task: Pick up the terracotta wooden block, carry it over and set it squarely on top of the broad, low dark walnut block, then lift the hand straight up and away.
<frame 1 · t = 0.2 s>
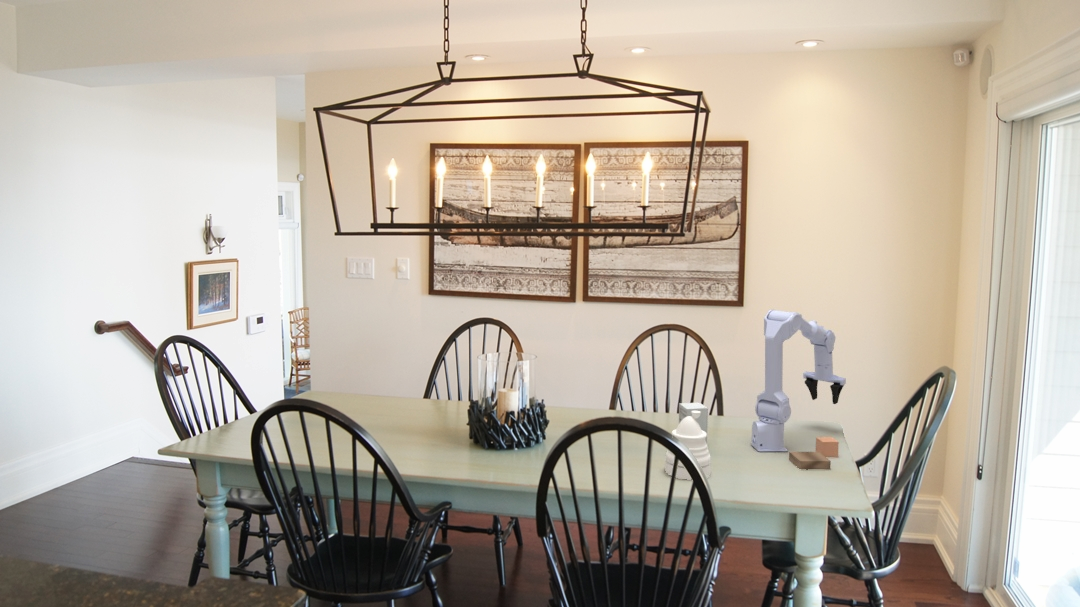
hand: (824, 401, 262), 11 cm above the table, tool pointing down, fingers open, 7 cm apart
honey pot: (687, 473, 221), on the table
terracotta block: (826, 455, 237), on the table
walnut base block: (809, 466, 228), on the table
supplement box: (692, 443, 249), on the table
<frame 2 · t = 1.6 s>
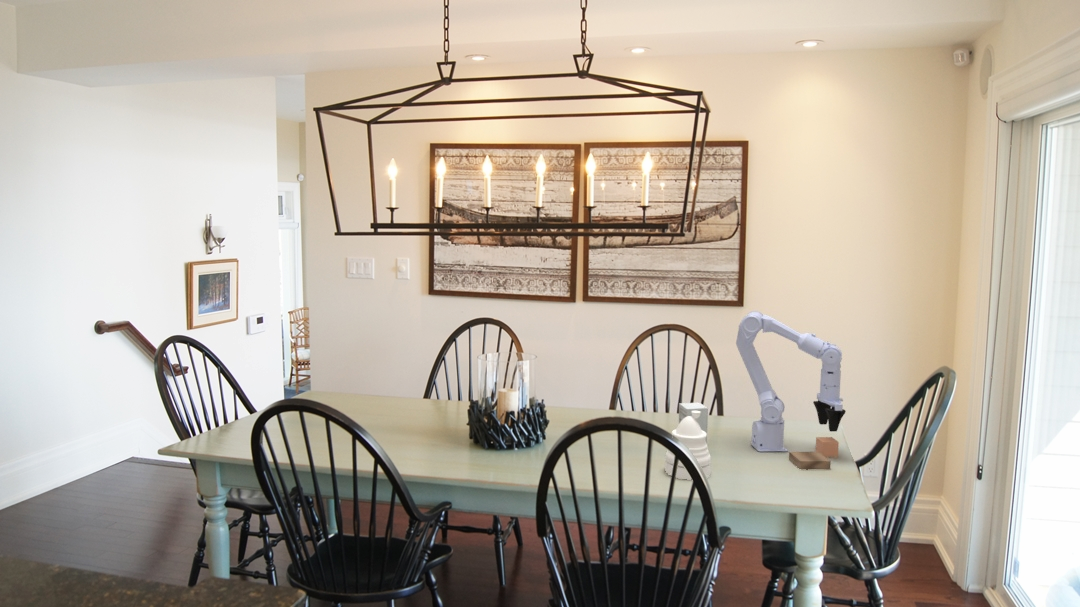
hand: (828, 427, 236), 9 cm above the table, tool pointing down, fingers open, 7 cm apart
nothing on the table moved.
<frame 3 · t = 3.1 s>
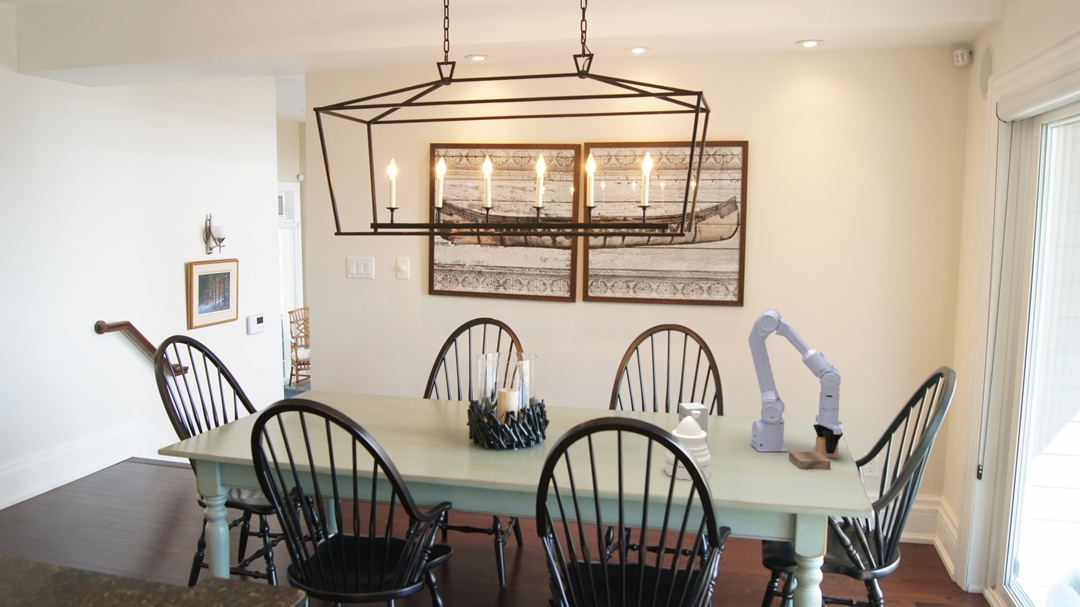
hand: (826, 450, 237), 1 cm above the table, tool pointing down, fingers closed on terracotta block, 5 cm apart
terracotta block: (826, 454, 237), on the table, touching gripper
everything else where it was.
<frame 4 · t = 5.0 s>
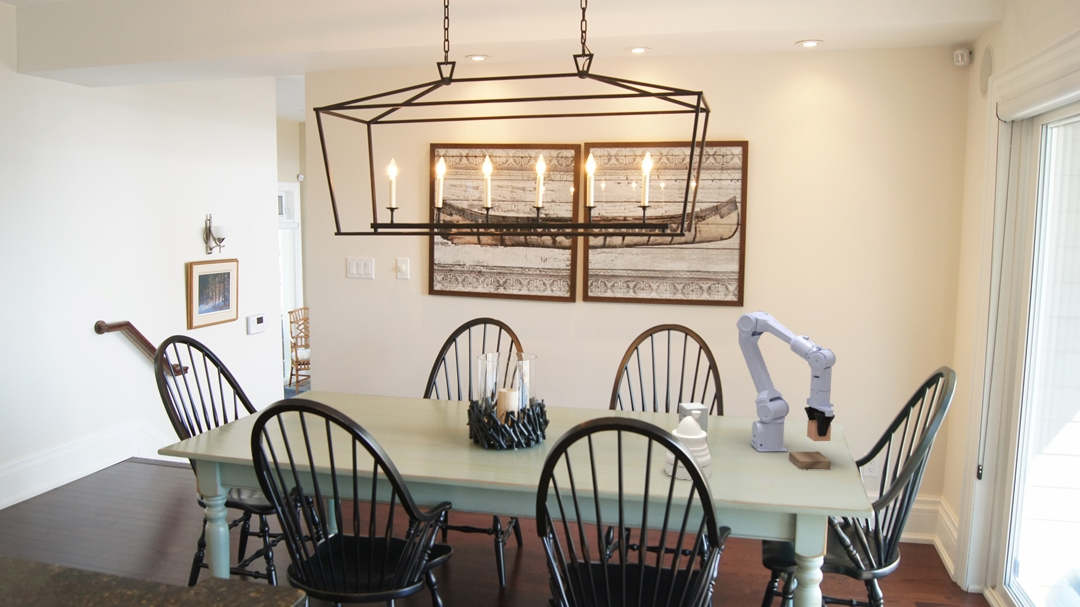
hand: (818, 433, 231), 8 cm above the table, tool pointing down, fingers closed on terracotta block, 5 cm apart
terracotta block: (818, 438, 231), point 7 cm above the table, touching gripper
everything else where it was.
when the fingers open (5 cm above the table, at t = 6.8 s): terracotta block drops 1 cm, resting on walnut base block.
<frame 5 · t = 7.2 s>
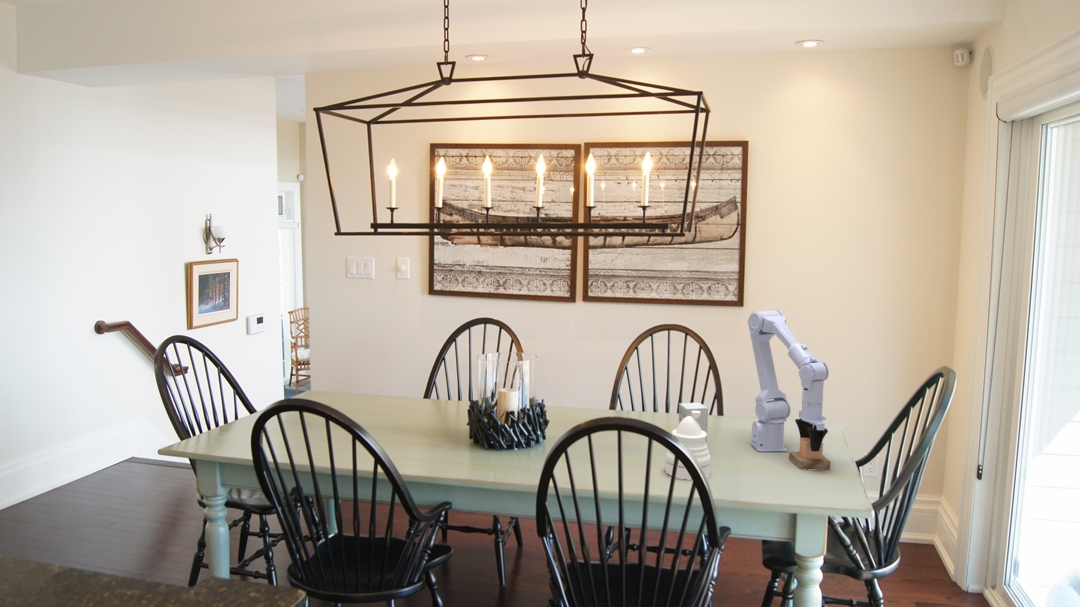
hand: (810, 447, 227), 5 cm above the table, tool pointing down, fingers open, 7 cm apart
terracotta block: (810, 456, 228), point 2 cm above the table, touching walnut base block
walnut base block: (809, 466, 228), on the table, touching terracotta block
everything else where it was.
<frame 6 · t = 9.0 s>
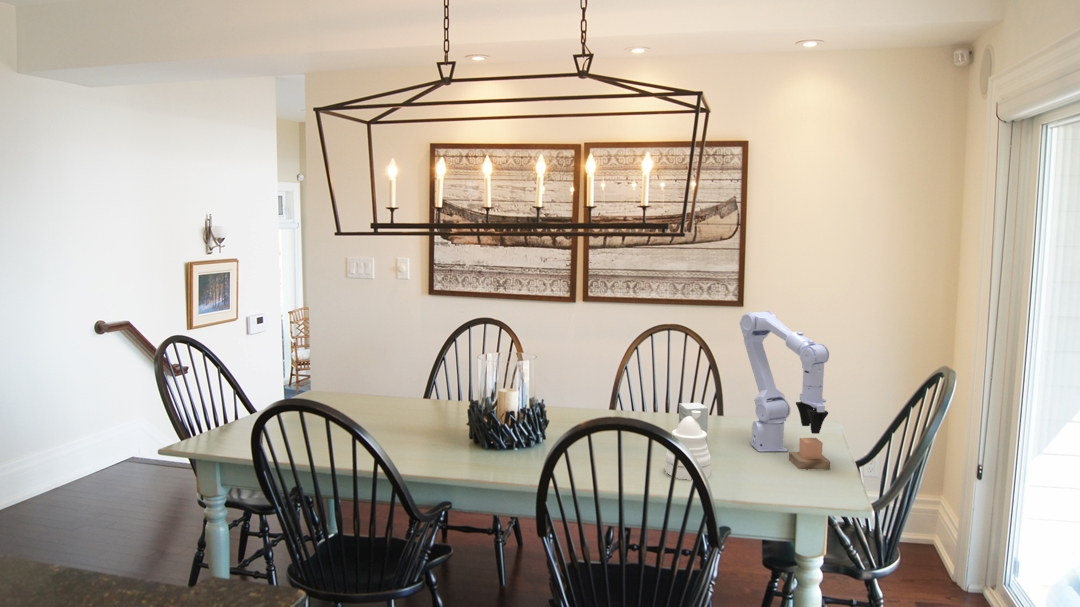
hand: (810, 429, 228), 10 cm above the table, tool pointing down, fingers open, 7 cm apart
terracotta block: (810, 456, 228), point 2 cm above the table
walnut base block: (808, 466, 228), on the table
everything else where it was.
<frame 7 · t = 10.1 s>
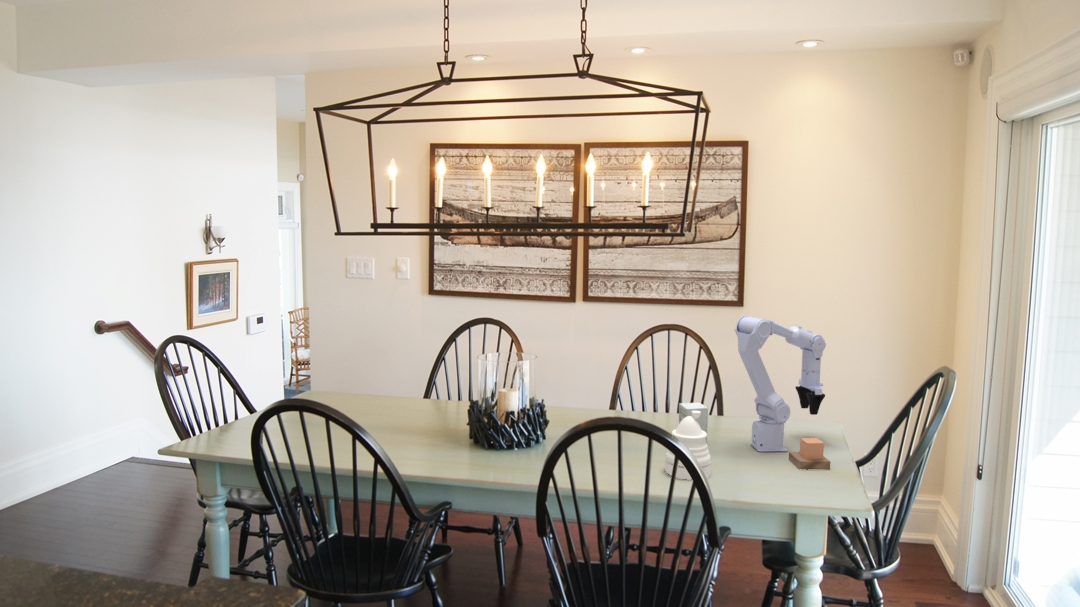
hand: (809, 411, 249), 10 cm above the table, tool pointing down, fingers open, 7 cm apart
terracotta block: (811, 456, 227), point 2 cm above the table, touching walnut base block
walnut base block: (808, 466, 228), on the table, touching terracotta block
everything else where it was.
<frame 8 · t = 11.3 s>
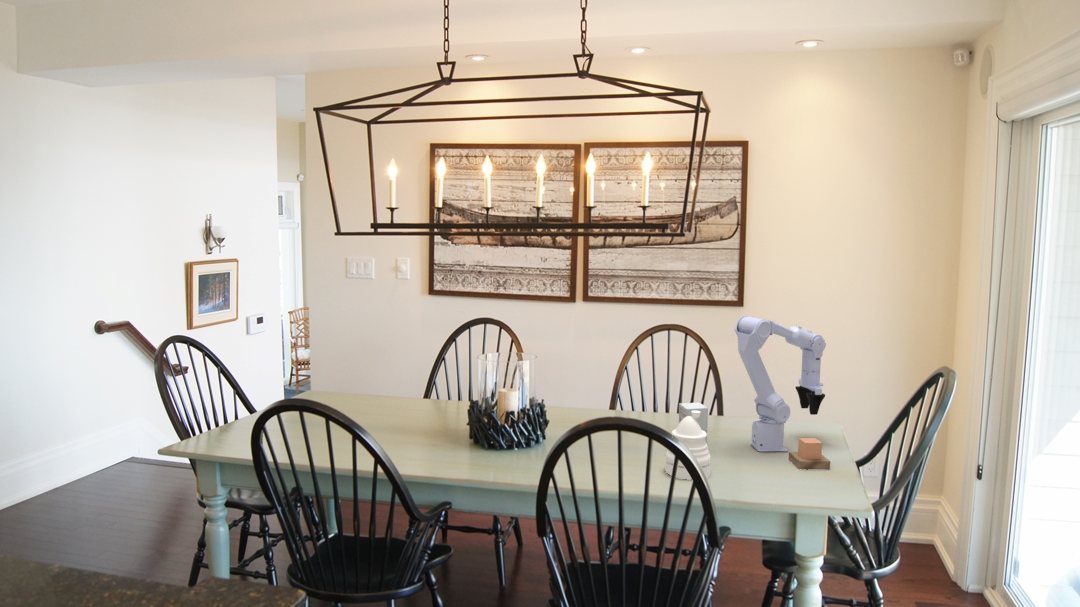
hand: (809, 411, 249), 10 cm above the table, tool pointing down, fingers open, 7 cm apart
nothing on the table moved.
at the end: terracotta block 0.4 cm off-centre on the walnut base block, point 3.0 cm above the walnut base block's base; terracotta block tilted 0°; the gripper is holding nothing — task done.
